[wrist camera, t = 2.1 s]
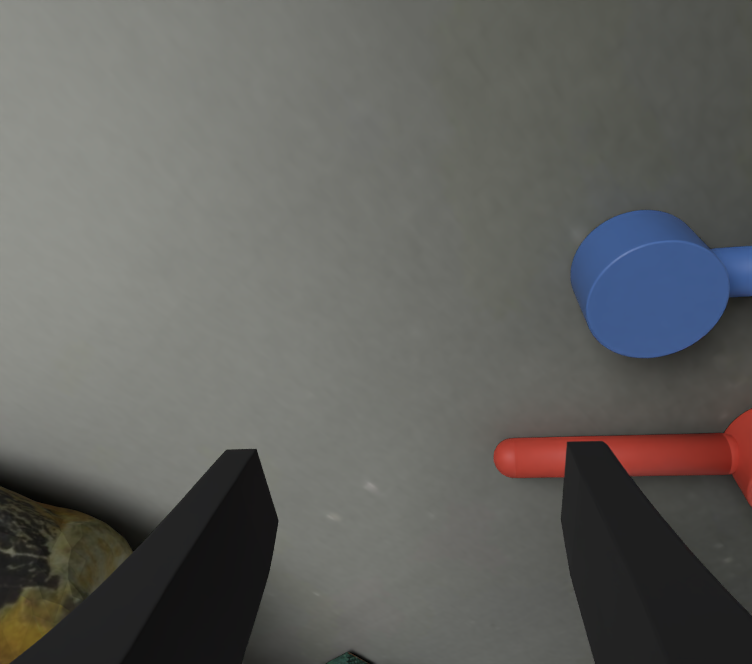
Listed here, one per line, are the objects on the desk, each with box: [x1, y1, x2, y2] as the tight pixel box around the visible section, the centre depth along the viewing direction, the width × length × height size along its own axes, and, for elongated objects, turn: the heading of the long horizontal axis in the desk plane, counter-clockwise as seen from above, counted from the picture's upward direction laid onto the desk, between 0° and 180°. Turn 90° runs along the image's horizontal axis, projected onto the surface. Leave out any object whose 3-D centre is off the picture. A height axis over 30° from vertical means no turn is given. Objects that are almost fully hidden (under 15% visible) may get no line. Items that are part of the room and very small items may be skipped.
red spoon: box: [494, 408, 752, 507], centre depth 20 cm, size 12×4×2 cm, turn 97°
